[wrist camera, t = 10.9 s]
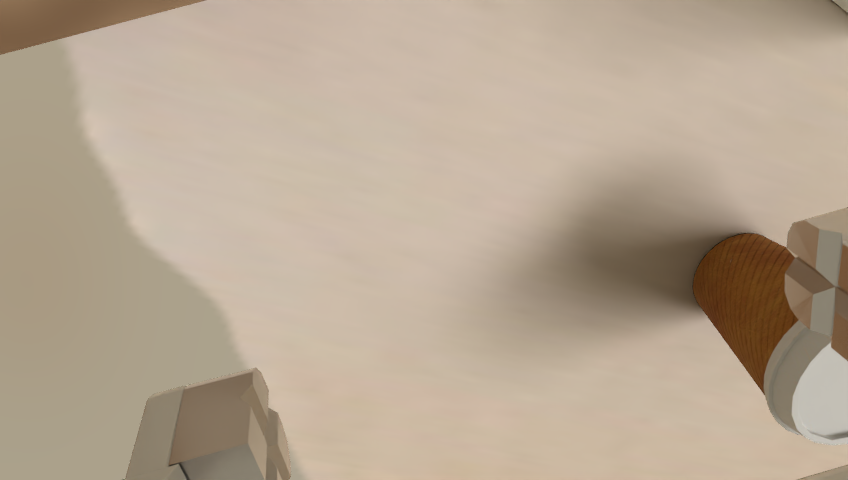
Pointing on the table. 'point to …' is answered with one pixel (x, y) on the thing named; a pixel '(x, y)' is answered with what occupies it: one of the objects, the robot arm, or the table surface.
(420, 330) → the table surface
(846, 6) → the supplement box
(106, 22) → the socket block
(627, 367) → the table surface
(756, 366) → the disposable coffee cup
